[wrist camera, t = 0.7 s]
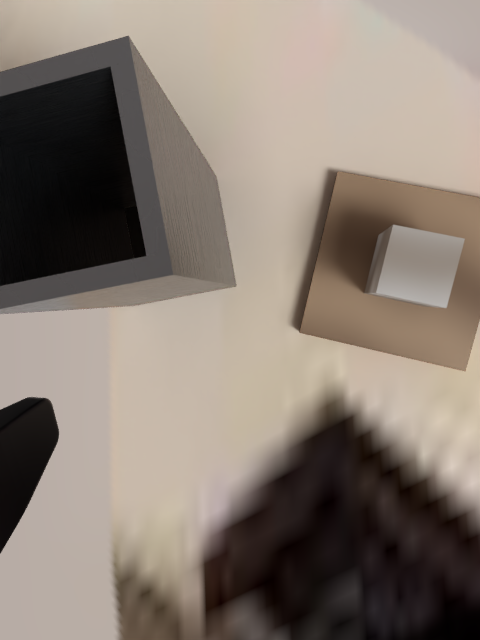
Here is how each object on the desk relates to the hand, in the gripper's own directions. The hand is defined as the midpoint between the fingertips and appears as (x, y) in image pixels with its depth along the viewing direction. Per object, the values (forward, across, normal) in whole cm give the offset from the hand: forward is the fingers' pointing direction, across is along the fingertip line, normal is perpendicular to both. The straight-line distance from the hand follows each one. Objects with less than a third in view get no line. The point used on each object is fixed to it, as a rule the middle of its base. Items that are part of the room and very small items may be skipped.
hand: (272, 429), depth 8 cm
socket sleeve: (+15, +6, 0) cm, 17 cm away
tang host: (+15, -6, +2) cm, 17 cm away
